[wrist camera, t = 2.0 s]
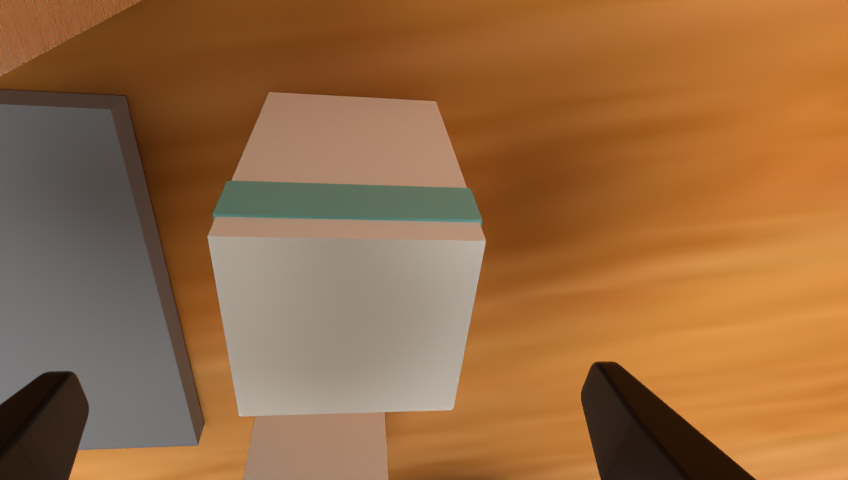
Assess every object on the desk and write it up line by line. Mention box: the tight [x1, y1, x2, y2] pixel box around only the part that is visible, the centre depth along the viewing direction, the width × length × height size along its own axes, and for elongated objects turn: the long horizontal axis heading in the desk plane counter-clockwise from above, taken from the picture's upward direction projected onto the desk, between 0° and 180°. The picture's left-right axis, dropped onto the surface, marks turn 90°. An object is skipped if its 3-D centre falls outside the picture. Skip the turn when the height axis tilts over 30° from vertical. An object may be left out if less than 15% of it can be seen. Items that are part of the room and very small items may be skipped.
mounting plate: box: [0, 89, 204, 450], centre depth 16 cm, size 14×10×1 cm
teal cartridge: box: [207, 92, 486, 417], centre depth 13 cm, size 5×5×7 cm
